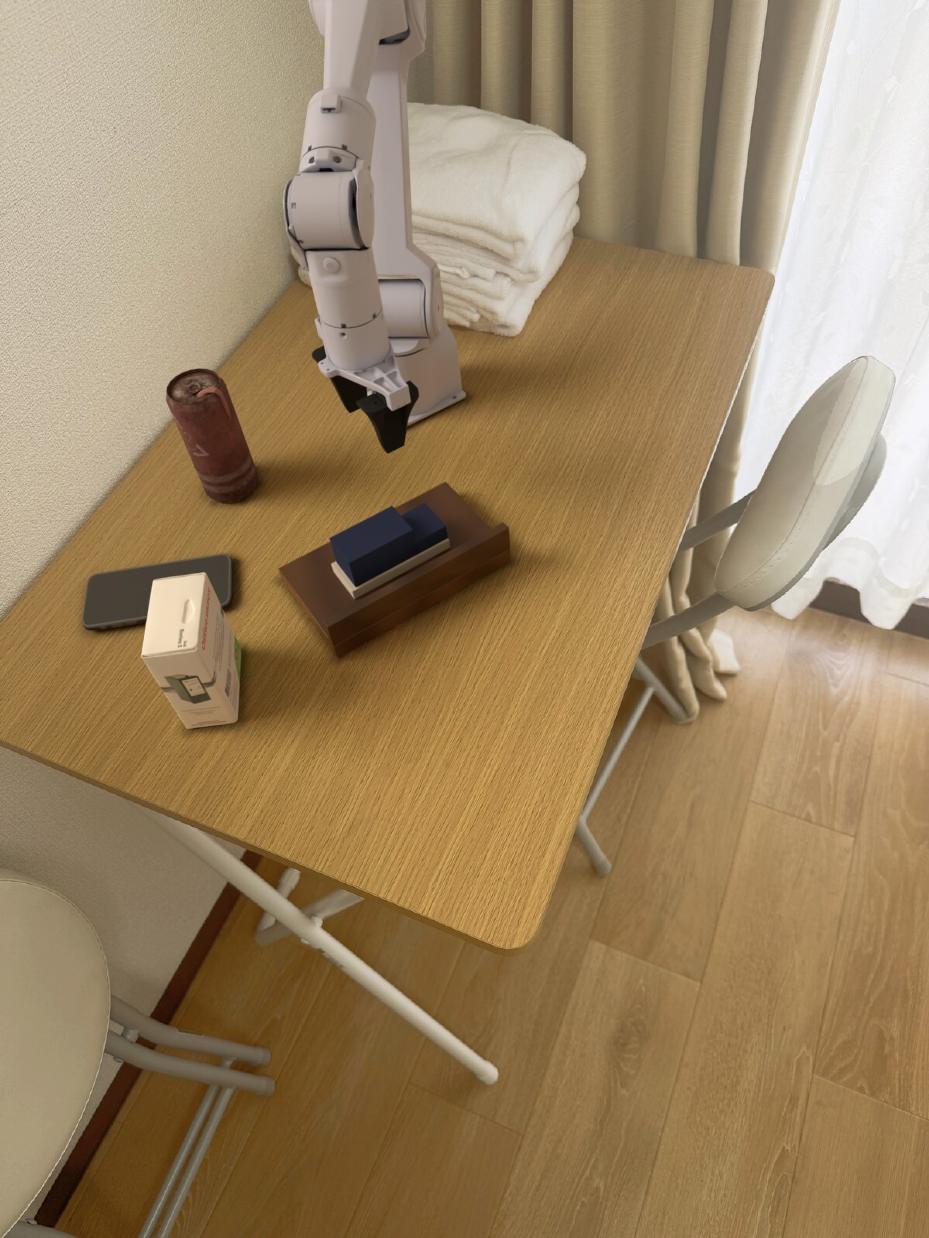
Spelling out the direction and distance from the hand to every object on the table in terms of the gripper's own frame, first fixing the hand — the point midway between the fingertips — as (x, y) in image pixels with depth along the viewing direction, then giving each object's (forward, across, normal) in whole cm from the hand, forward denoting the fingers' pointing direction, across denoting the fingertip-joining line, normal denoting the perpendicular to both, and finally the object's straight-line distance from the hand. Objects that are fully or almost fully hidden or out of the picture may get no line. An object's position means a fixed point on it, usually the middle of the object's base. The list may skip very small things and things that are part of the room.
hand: (375, 427), depth 92 cm
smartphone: (+9, -2, -26) cm, 28 cm away
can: (+10, -12, -13) cm, 20 cm away
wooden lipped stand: (+9, +10, -5) cm, 15 cm away
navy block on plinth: (+7, +10, -5) cm, 13 cm away
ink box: (+10, +12, -26) cm, 30 cm away
